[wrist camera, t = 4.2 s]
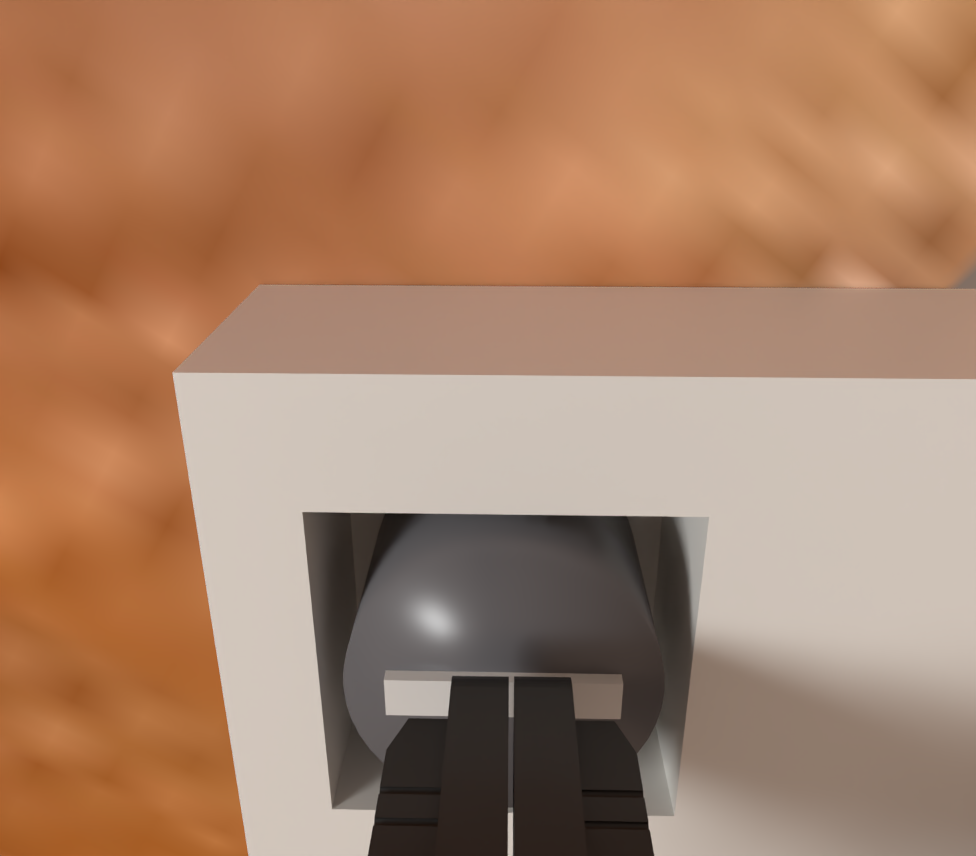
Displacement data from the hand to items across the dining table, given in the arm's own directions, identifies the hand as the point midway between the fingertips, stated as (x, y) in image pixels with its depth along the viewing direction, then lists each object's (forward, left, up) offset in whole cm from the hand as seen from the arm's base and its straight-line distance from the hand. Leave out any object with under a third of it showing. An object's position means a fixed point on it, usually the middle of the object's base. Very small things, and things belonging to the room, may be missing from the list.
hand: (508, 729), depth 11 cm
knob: (0, 0, -4) cm, 4 cm away
